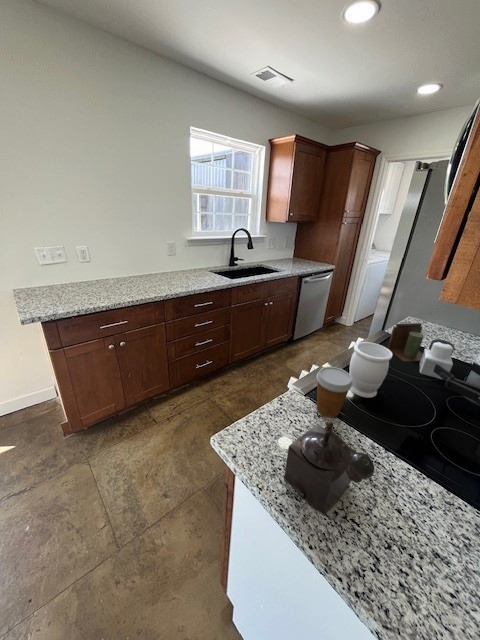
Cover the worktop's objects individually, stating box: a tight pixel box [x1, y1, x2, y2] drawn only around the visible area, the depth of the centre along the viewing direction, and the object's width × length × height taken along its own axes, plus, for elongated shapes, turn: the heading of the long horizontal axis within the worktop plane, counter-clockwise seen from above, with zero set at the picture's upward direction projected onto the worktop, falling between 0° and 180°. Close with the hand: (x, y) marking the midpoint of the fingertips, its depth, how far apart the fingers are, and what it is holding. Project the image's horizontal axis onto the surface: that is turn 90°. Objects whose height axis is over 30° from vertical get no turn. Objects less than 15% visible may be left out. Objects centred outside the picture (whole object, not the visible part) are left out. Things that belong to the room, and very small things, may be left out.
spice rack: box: [386, 322, 423, 362], centre depth 104 cm, size 12×10×12 cm
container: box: [419, 339, 456, 380], centre depth 93 cm, size 8×8×13 cm
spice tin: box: [403, 332, 425, 358], centre depth 103 cm, size 5×5×9 cm
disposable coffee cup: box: [316, 366, 353, 418], centre depth 75 cm, size 10×10×12 cm
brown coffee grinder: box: [283, 420, 375, 515], centre depth 51 cm, size 16×11×18 cm
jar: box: [349, 341, 393, 399], centre depth 83 cm, size 11×10×15 cm
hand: (454, 366), depth 86 cm, fingers open, 13 cm apart
